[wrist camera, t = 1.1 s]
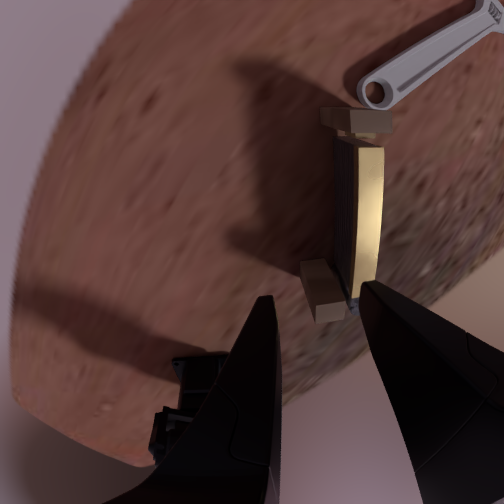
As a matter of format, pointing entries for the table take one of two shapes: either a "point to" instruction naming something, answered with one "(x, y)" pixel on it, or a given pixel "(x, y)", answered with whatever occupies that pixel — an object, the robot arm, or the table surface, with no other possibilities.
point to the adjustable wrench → (432, 54)
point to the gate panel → (356, 214)
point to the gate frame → (317, 271)
